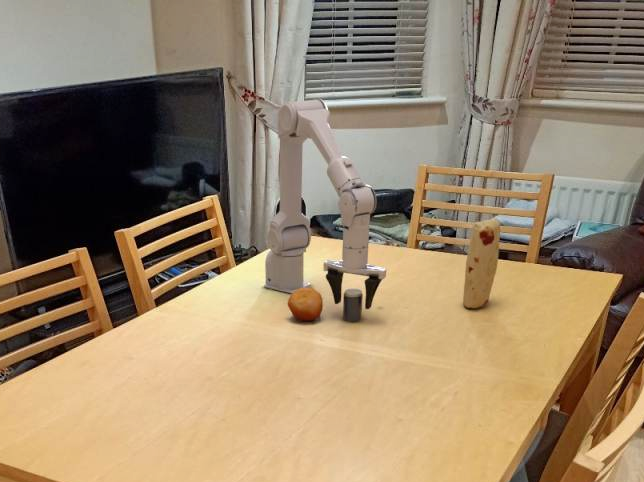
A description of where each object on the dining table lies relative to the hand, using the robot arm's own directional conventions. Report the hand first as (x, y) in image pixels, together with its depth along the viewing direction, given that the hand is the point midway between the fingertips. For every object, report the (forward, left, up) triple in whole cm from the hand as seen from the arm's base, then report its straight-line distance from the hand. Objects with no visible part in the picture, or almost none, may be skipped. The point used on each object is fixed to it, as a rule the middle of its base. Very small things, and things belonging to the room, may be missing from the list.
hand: (352, 305), depth 175 cm
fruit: (-9, -6, -3) cm, 12 cm away
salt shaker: (0, 0, -3) cm, 3 cm away
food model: (+20, +25, -3) cm, 32 cm away
